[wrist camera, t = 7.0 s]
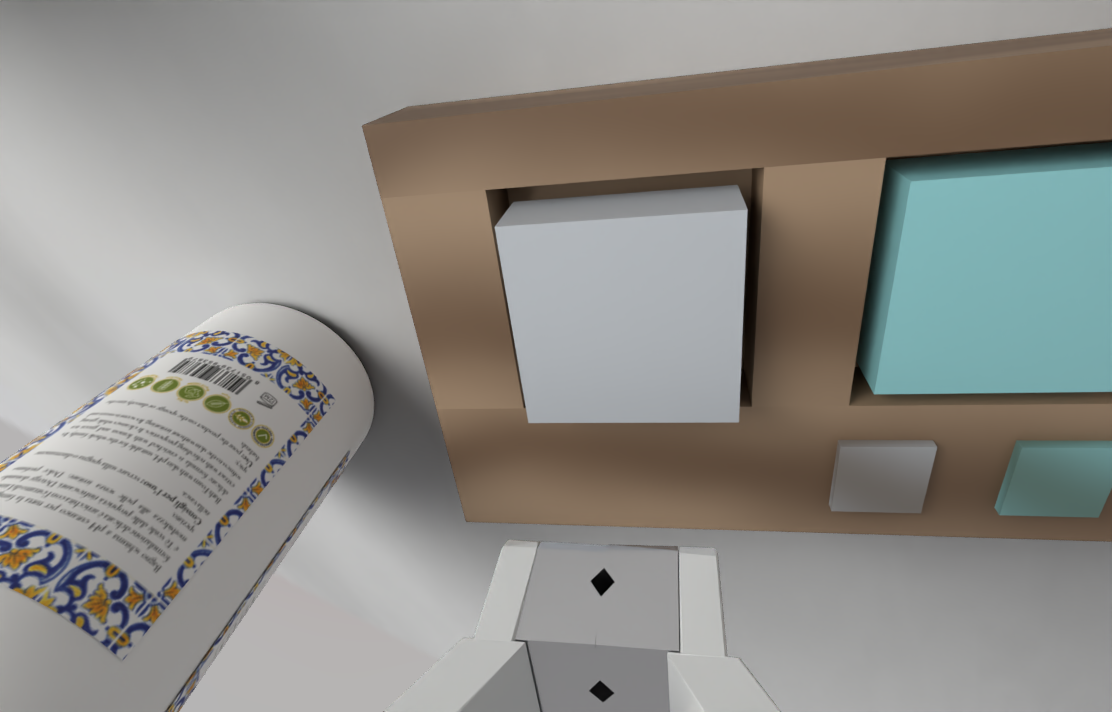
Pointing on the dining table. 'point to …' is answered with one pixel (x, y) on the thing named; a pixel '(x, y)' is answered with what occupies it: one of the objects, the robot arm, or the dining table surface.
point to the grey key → (628, 305)
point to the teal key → (992, 274)
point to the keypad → (750, 296)
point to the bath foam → (169, 510)
